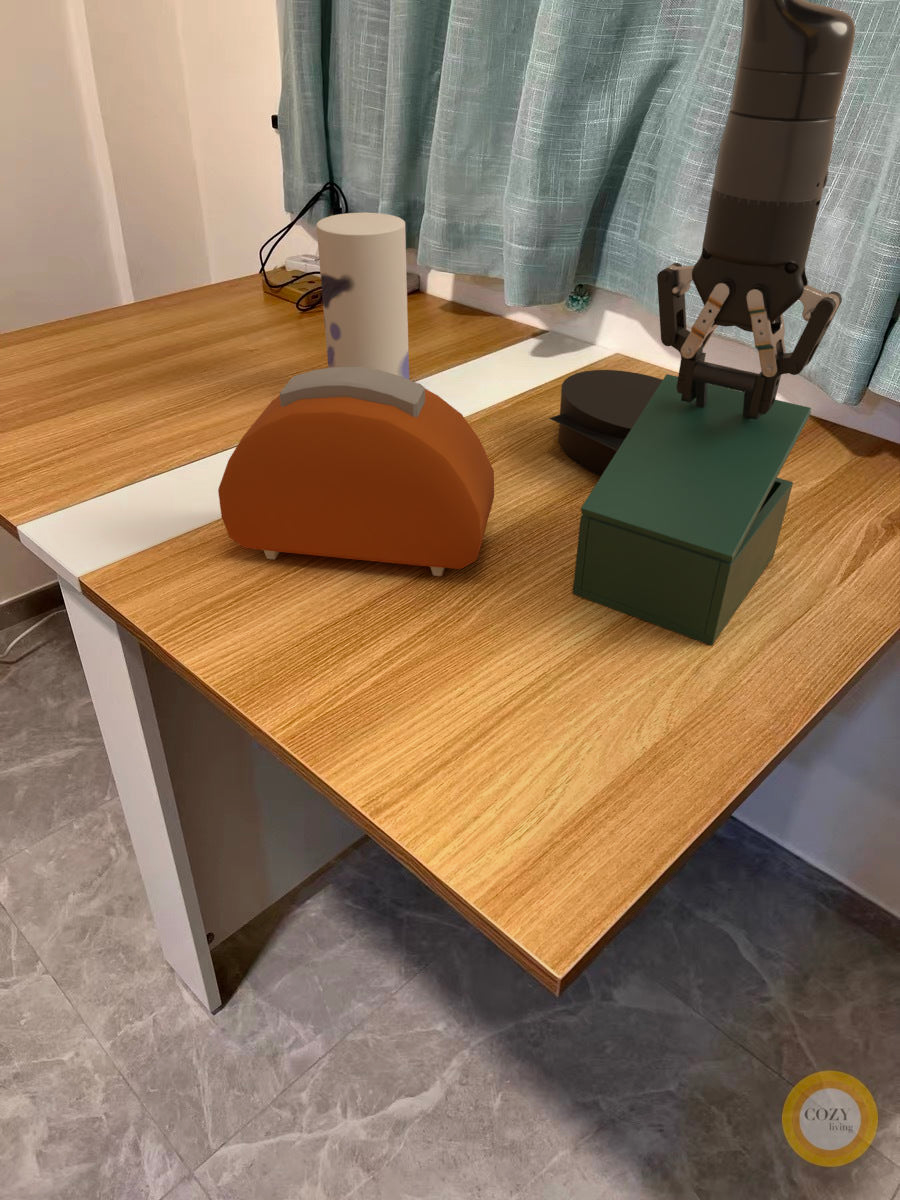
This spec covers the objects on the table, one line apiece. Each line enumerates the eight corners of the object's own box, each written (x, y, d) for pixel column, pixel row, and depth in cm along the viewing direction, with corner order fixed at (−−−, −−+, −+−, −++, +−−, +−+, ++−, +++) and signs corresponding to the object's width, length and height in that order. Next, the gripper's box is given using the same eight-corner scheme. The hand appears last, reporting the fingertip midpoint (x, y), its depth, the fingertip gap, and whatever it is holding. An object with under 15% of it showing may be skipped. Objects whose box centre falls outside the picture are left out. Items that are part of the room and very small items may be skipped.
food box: (646, 516, 87) (657, 444, 82) (773, 556, 81) (793, 481, 77) (572, 593, 77) (580, 516, 72) (712, 645, 71) (730, 565, 66)
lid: (666, 380, 78) (665, 333, 74) (810, 414, 73) (818, 366, 69) (581, 514, 72) (574, 471, 68) (731, 563, 66) (735, 519, 62)
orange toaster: (493, 532, 85) (500, 363, 75) (480, 585, 77) (485, 406, 68) (259, 510, 88) (235, 345, 78) (225, 559, 81) (194, 385, 71)
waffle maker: (619, 417, 108) (622, 357, 104) (734, 467, 95) (742, 401, 91) (523, 450, 102) (523, 388, 97) (632, 508, 89) (636, 439, 85)
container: (314, 388, 112) (298, 220, 100) (375, 367, 118) (367, 206, 106) (363, 412, 106) (352, 237, 94) (425, 390, 112) (423, 222, 100)
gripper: (652, 181, 64) (623, 402, 74) (858, 209, 57) (795, 447, 67) (691, 163, 69) (659, 373, 79) (885, 188, 62) (823, 412, 72)
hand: (722, 406), depth 73 cm, fingers closed on lid, 5 cm apart
